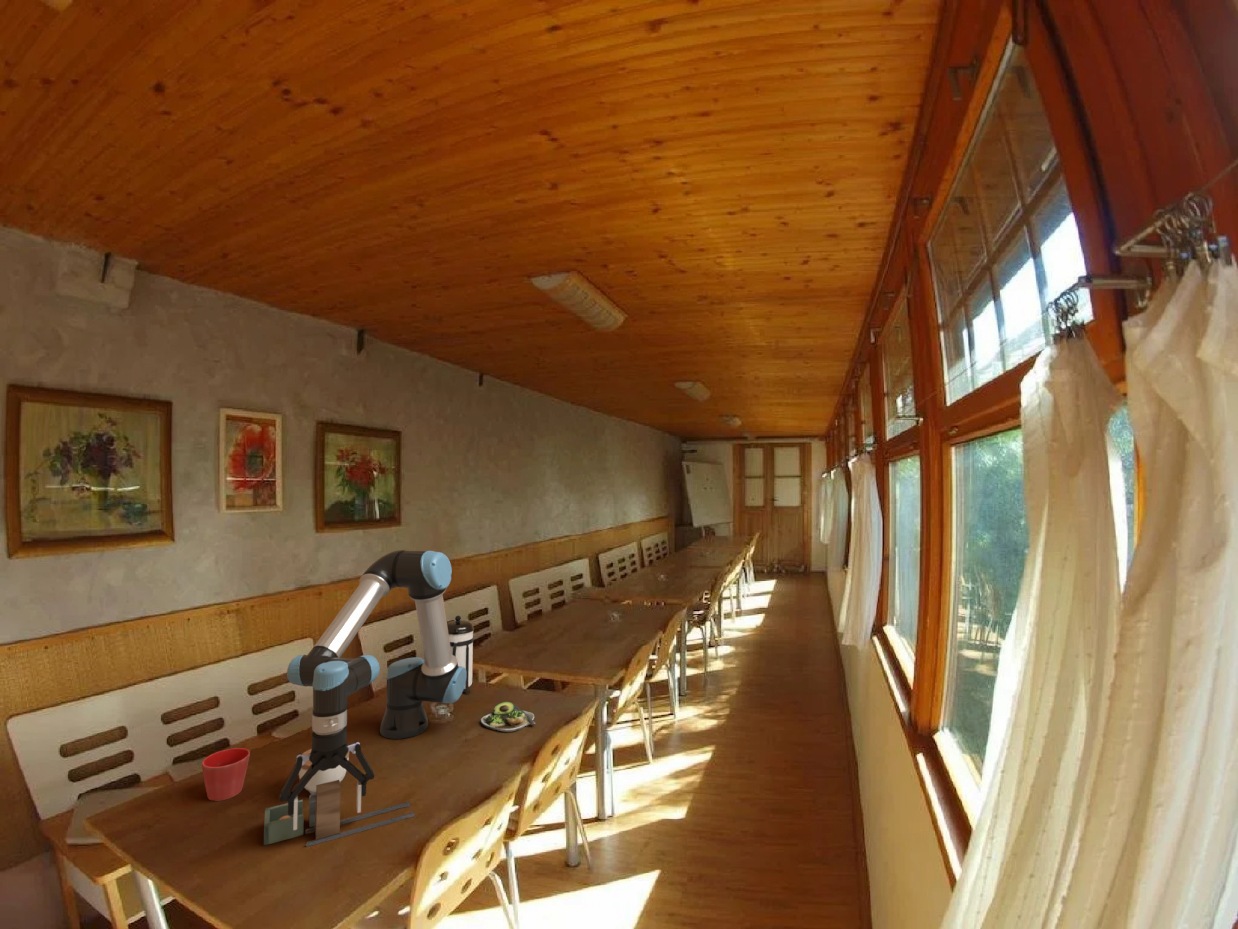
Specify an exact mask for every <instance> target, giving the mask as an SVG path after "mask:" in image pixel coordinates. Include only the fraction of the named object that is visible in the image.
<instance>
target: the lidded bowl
mask: <svg viewBox="0 0 1238 929" xmlns="http://www.w3.org/2000/svg"><path fill="white" fill-rule="evenodd" d="M311 750H312V748H310V749H308V750H306V751H304V752H303V753H301V754H302V755H305V754H310V753H311ZM345 757H346V758H347V760H348V761H349V760H350V759H349V757H350V751H348V753H347V755H346V756H345ZM349 762H350V761H349ZM311 764H312V763H311V761H310V760H307V761H306V763H305V764H304V765H302V767H301V770H300V772H299V774H298V777H299V778H298V779H299V780H300V779H301V778H302V776H303V775H304V774H305V773H306V772H307V770H308V769H309V767H310V766H311ZM347 772H348V771H347V770H346V769H344V768H342V767H341V766H340V765H339V766H337V767H336V768H334V769H327V770H325V771H322V770H318V772H317V773H316V774H315V775H314V776H313V777H312V778H311V779H310V781H309V782H308V783H307V784H306V786H305V787H304V788H303V789H305V790H306V791H308V792H309V794H310V795H311V794H312V793H316V785H319V784H323V783H328V782H332V781H336V780H339V781H340V783H341V782H342V781H343V779H344V778H345V776H346V775H347Z"/></svg>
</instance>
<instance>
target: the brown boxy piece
mask: <svg viewBox="0 0 1238 929" xmlns="http://www.w3.org/2000/svg"><path fill="white" fill-rule="evenodd" d="M341 790H342V789H341V782H340V781H339V780H336V781H332V782H328V783H323V784H319V785H316V793H312V794H311V793H310V795H309V797H308V799H309V800H308V806H309V807H308V823H309V825H308V826H309V828H313V827H315V832H314V833H315V840H316V839H319V838H323V837H326V836H330V835H333V834H337V833H341V829H340V828H341V825H340V820H341V794H342V792H341Z"/></svg>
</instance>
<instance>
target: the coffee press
mask: <svg viewBox="0 0 1238 929" xmlns="http://www.w3.org/2000/svg"><path fill="white" fill-rule="evenodd" d="M454 619H455V620H451V621H447V627H448V634H449V640H450V647H451V654H452V655H454V656H455V657H456V658H457V662H458V666H459V667H460V666H462V667H464V668H465V669H466V673H467V674H466V683H465V686H464V690H463V692H464V693H465V695H469V694H470V693H471V690H470V687H471V686H472V685H473V664H474V662H473V661H474V660H473V659H474V658H473V657H474V656H473V655H474V654H473V651H474V646H473V645H474V630H475V627H474V626H473V623H472V622H470V621H468V620H462V618H461V616H460V615H456V616H455V618H454Z"/></svg>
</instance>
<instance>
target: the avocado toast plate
mask: <svg viewBox="0 0 1238 929" xmlns="http://www.w3.org/2000/svg"><path fill="white" fill-rule="evenodd" d="M534 720H535V714H534V713H533V712H530V711H526V710H523V709H522V708H520V707H519V706H518V705H515V704H514V703H512V702H510V701H503V702H500V703H498V704H496V705H495V706H494V708H493V712H490V713H488V714H487V715H484V716H483V717H481V718H480V724H481V726H482V727H484V728H486V729H489V730H493V731H496V730H497V731H498V732H504V733H513V732H518V731H520V730H522V729H523V728H526V727H528V726H530V725H531V726H532V725H536V722H535V721H534ZM505 726H511V728H501V727H505ZM514 726H515V727H514ZM525 726H526V727H525ZM517 730H518V731H517Z"/></svg>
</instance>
